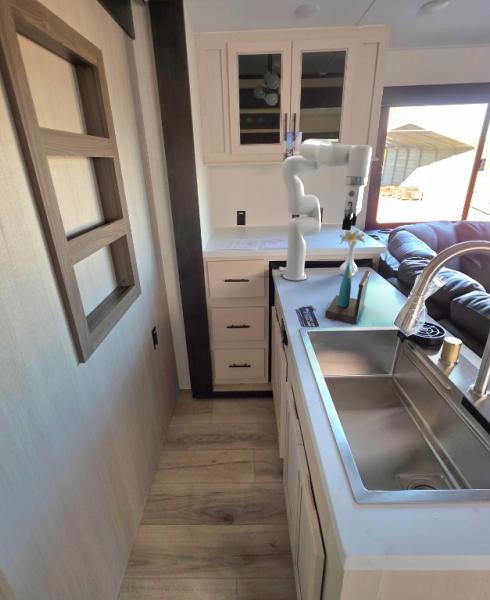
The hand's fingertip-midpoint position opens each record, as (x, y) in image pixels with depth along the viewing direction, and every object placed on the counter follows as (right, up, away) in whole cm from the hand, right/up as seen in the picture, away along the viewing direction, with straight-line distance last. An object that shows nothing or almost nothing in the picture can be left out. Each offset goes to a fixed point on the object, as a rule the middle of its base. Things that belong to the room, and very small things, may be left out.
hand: (348, 227), depth 124 cm
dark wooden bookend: (+1, -34, +6) cm, 34 cm away
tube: (0, -31, +6) cm, 31 cm away
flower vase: (+16, -15, +50) cm, 54 cm away
